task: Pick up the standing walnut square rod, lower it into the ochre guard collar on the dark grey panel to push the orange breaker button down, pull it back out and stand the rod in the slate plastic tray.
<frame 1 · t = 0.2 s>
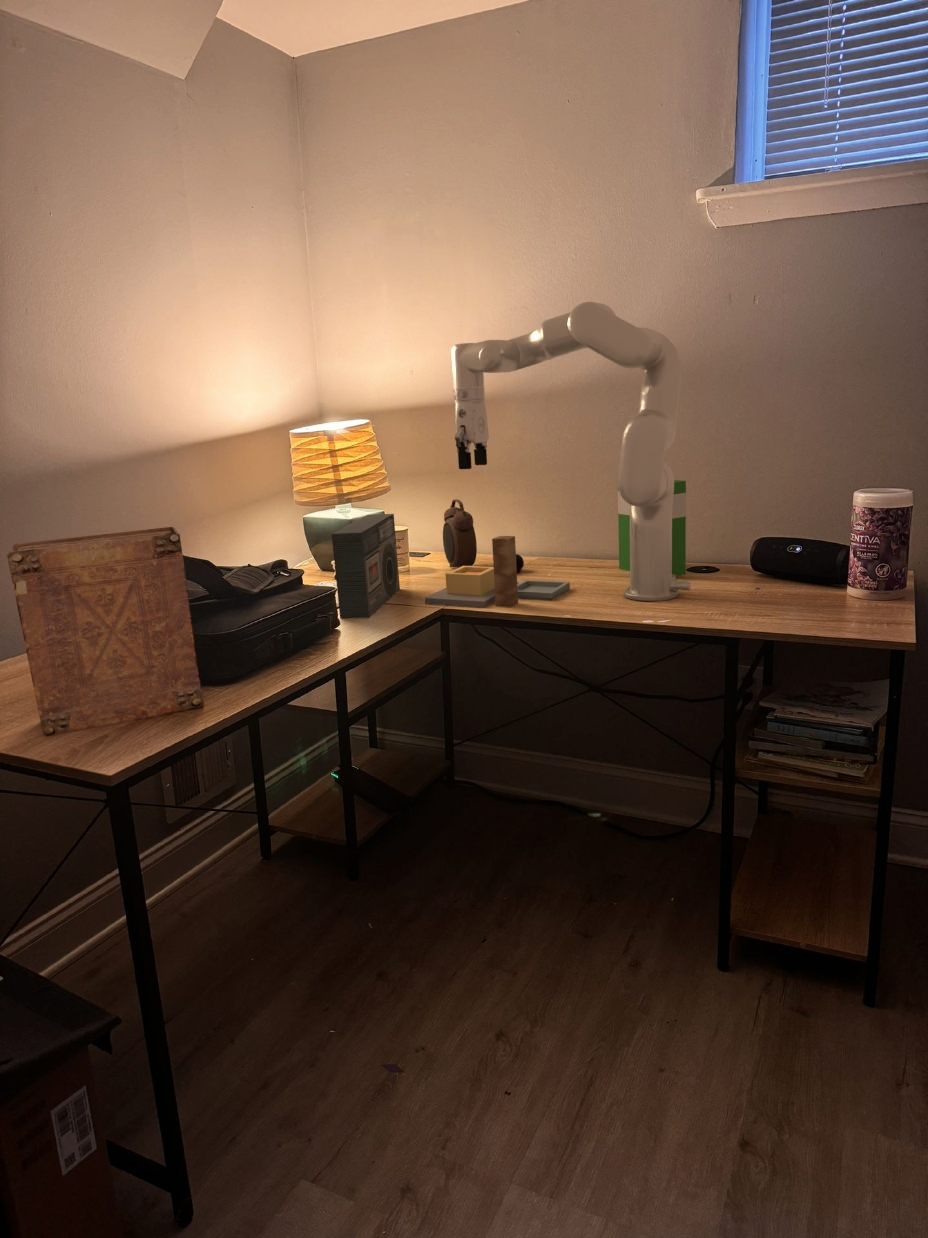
hand: (473, 466, 215), 31 cm above the table, tool pointing down, fingers open, 9 cm apart
tray: (538, 593, 212), on the table
hardback book: (651, 572, 228), on the table
microphone: (496, 578, 234), on the table
cassette player: (372, 604, 213), on the table
rod: (506, 604, 203), on the table
alarm clock: (460, 570, 245), on the table
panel: (472, 596, 213), on the table
button: (471, 580, 212), point 4 cm above the table, slide at 0.0 cm
book: (125, 714, 146), on the table
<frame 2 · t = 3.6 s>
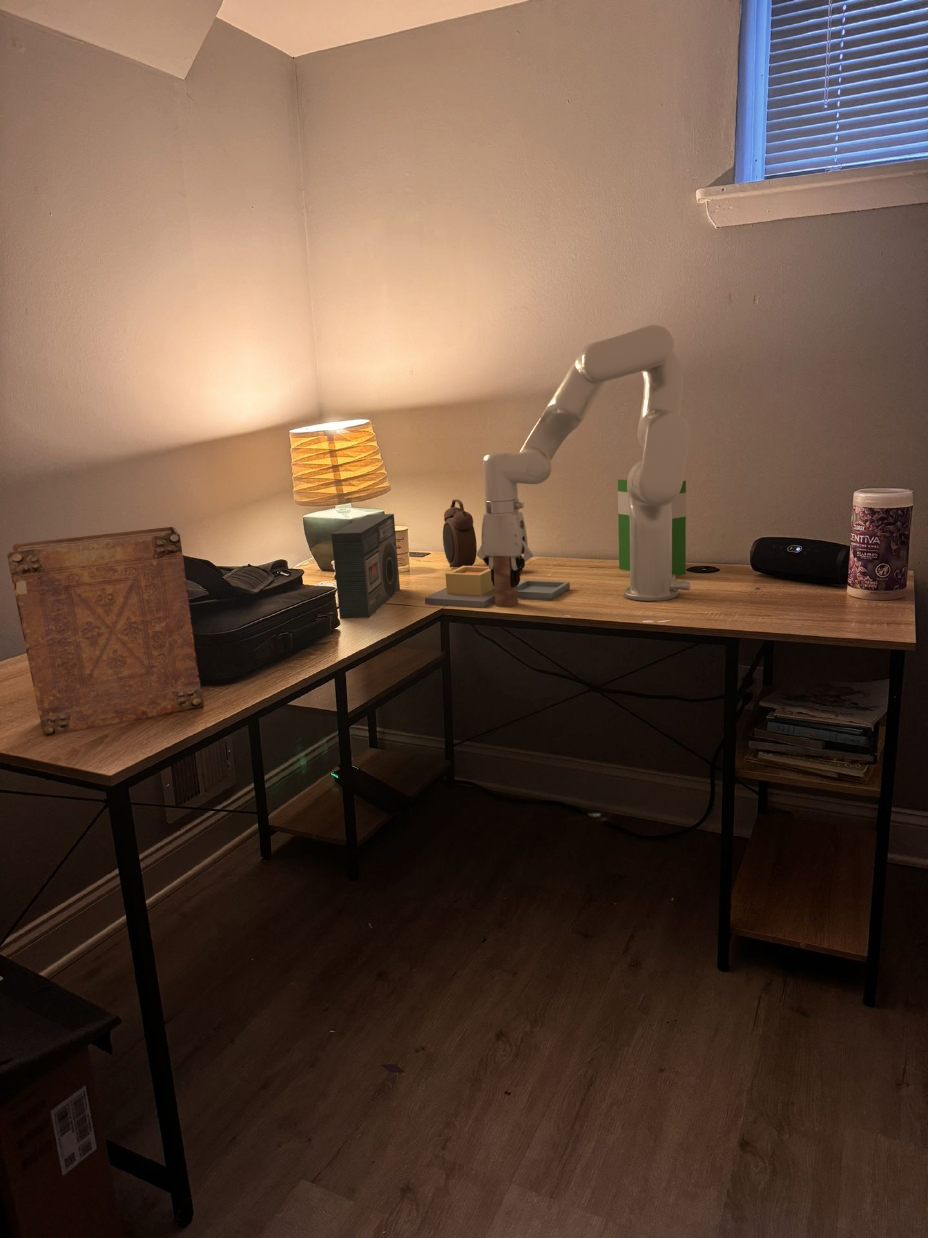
hand: (505, 584, 201), 5 cm above the table, tool pointing down, fingers closed on rod, 4 cm apart
rod: (506, 604, 203), on the table, touching gripper
everything else where it was.
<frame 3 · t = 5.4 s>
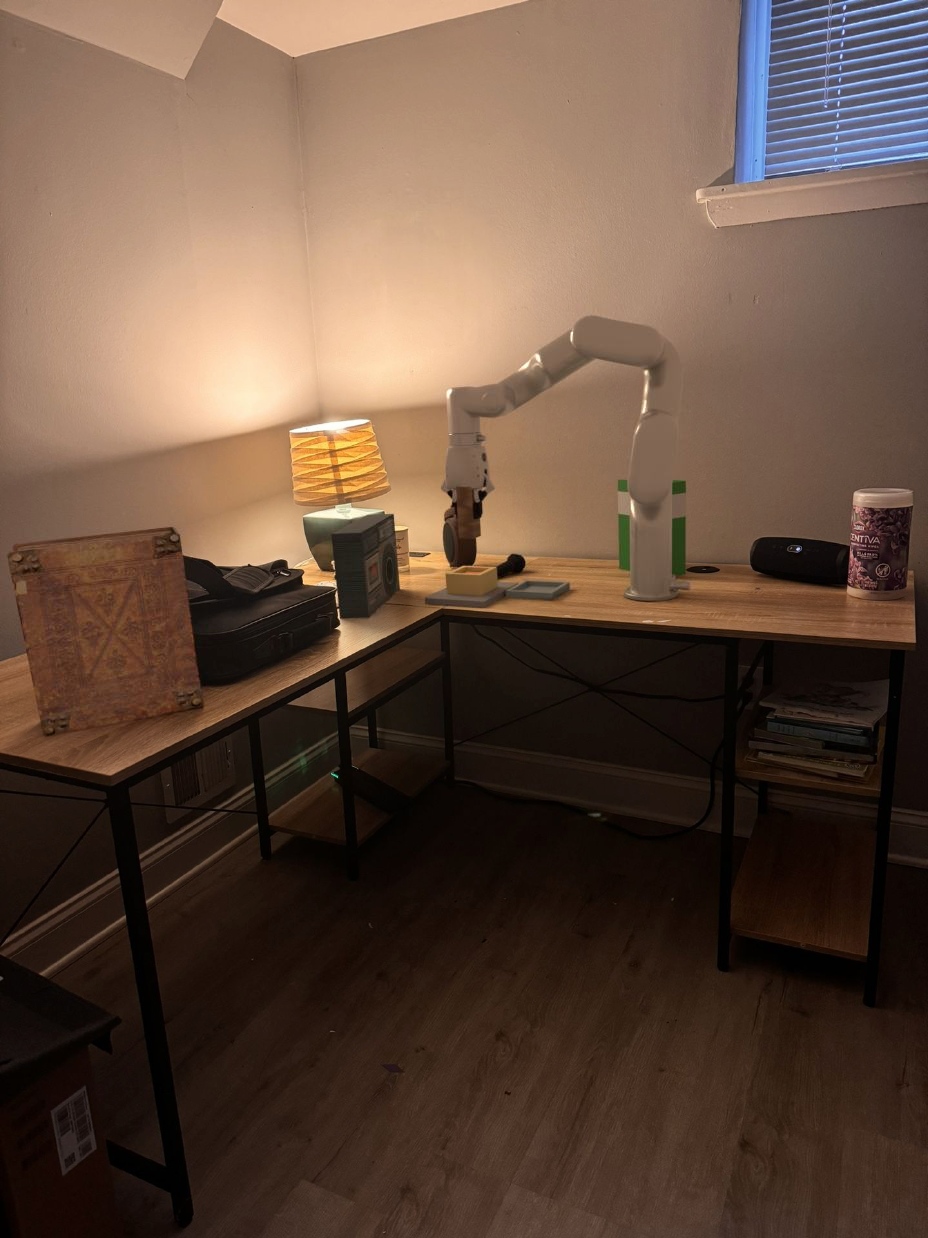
hand: (469, 517, 208), 20 cm above the table, tool pointing down, fingers closed on rod, 4 cm apart
rod: (470, 537, 209), point 15 cm above the table, touching gripper
everything else where it was.
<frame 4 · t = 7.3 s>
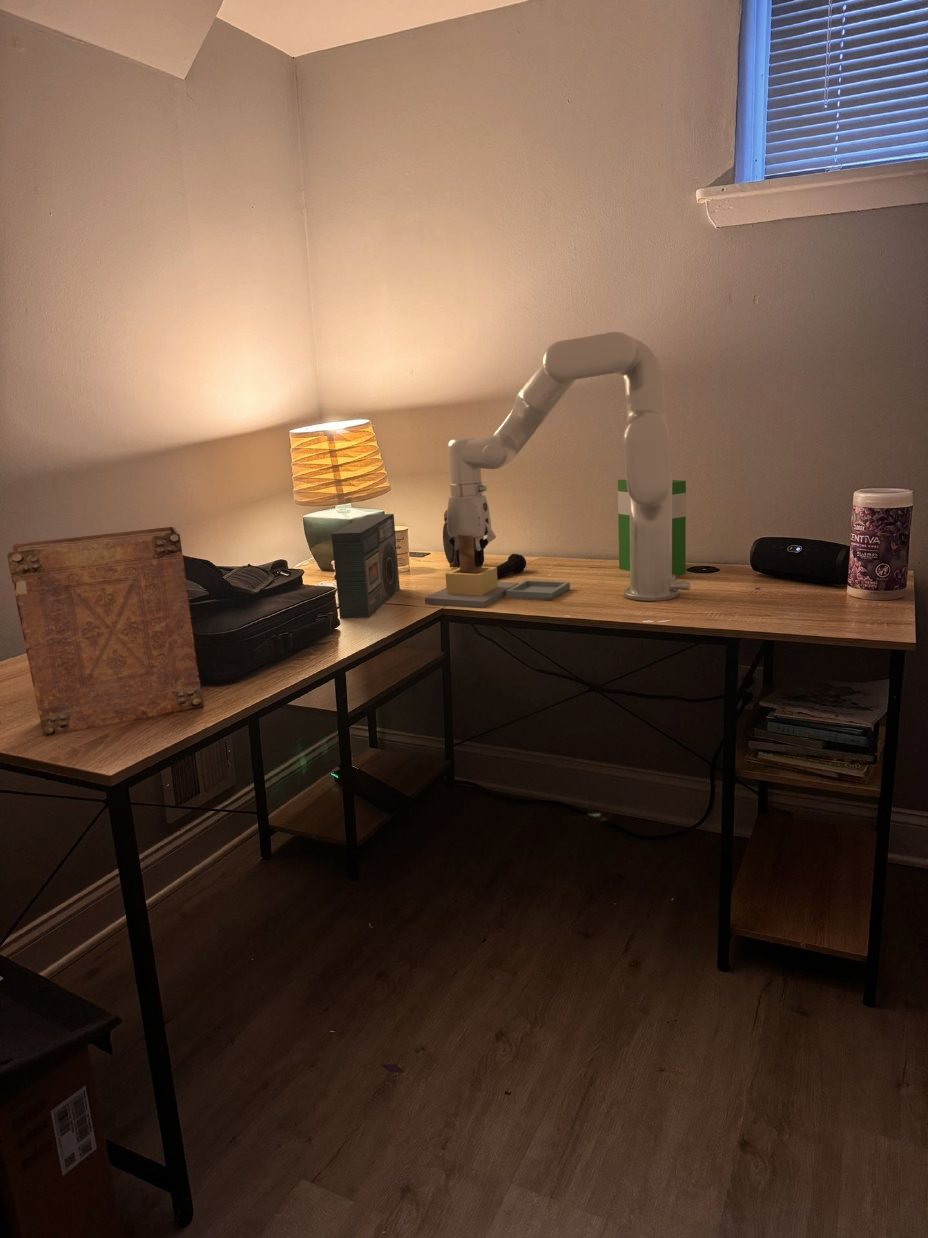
hand: (470, 564, 211), 8 cm above the table, tool pointing down, fingers closed on rod, 4 cm apart
rod: (471, 583, 212), point 3 cm above the table, touching button, gripper
button: (472, 589, 213), point 2 cm above the table, slide at 2.4 cm, touching rod
everything else where it was.
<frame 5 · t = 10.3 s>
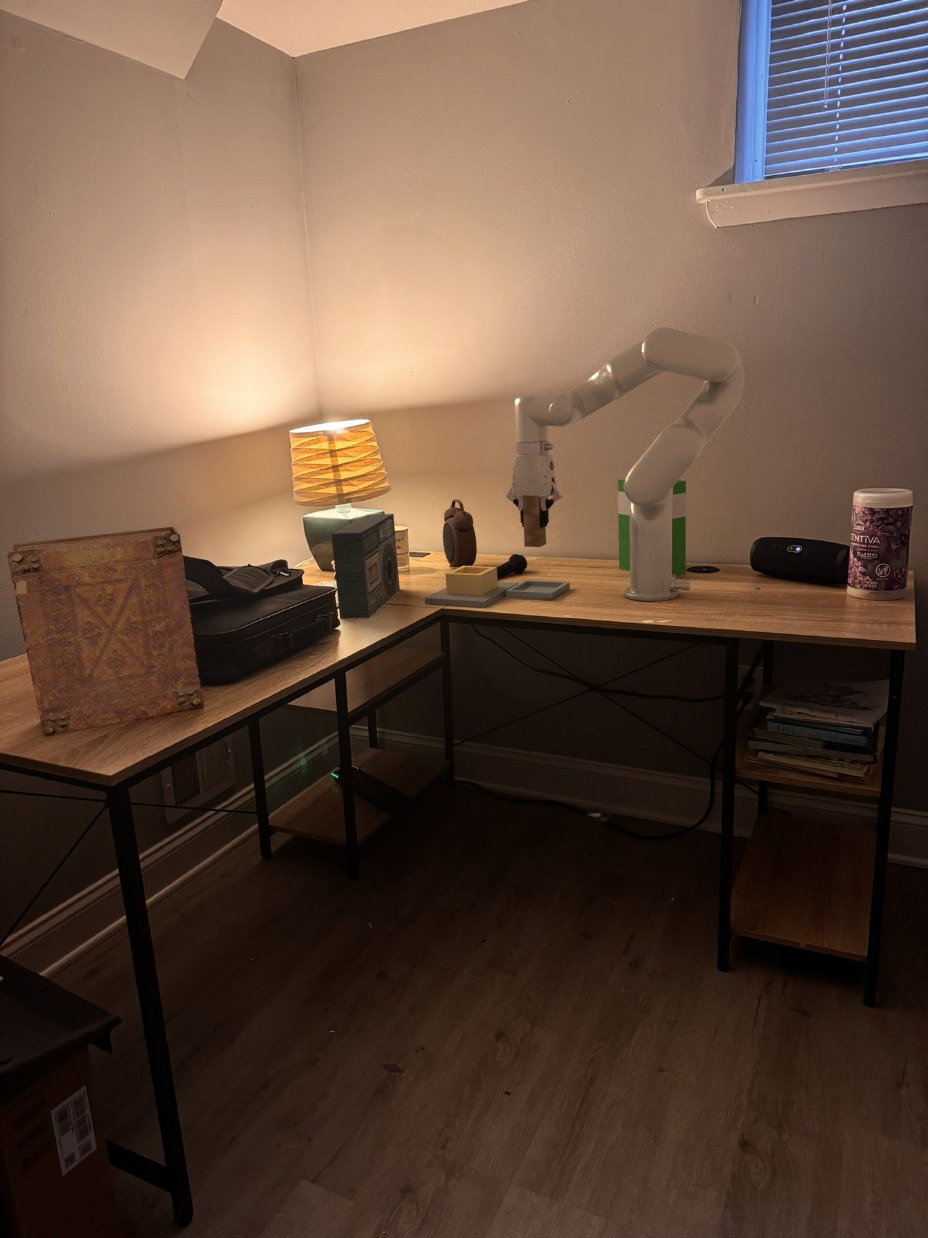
hand: (534, 525, 207), 17 cm above the table, tool pointing down, fingers closed on rod, 4 cm apart
rod: (535, 545, 209), point 12 cm above the table, touching gripper
button: (472, 589, 213), point 2 cm above the table, slide at 2.4 cm
when the fingers open (6 cm above the table, at t = 12.9 s): rod stays where it is, resting on tray.
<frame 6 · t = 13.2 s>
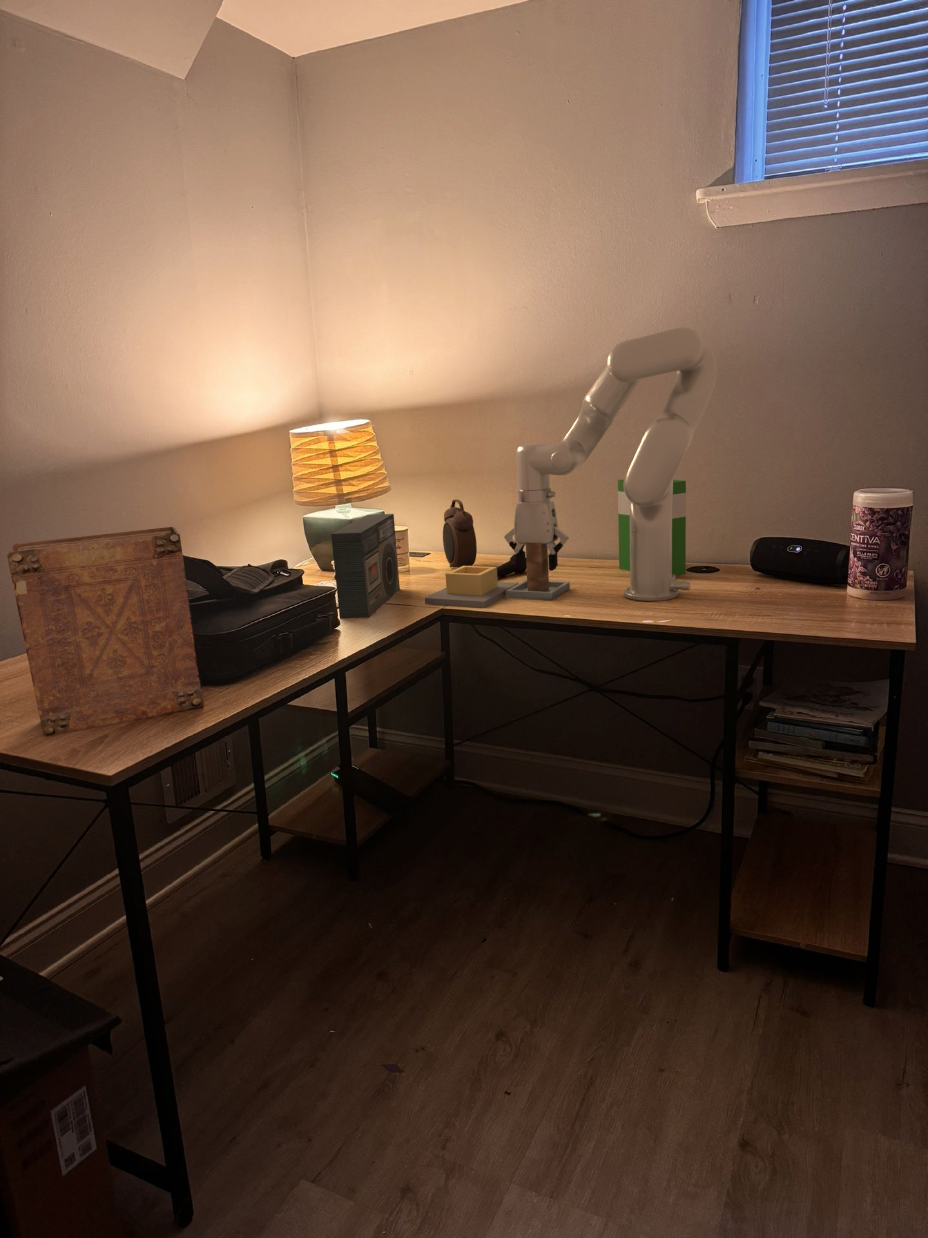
hand: (537, 568, 210), 6 cm above the table, tool pointing down, fingers open, 7 cm apart
rod: (538, 591, 211), point 1 cm above the table, touching tray
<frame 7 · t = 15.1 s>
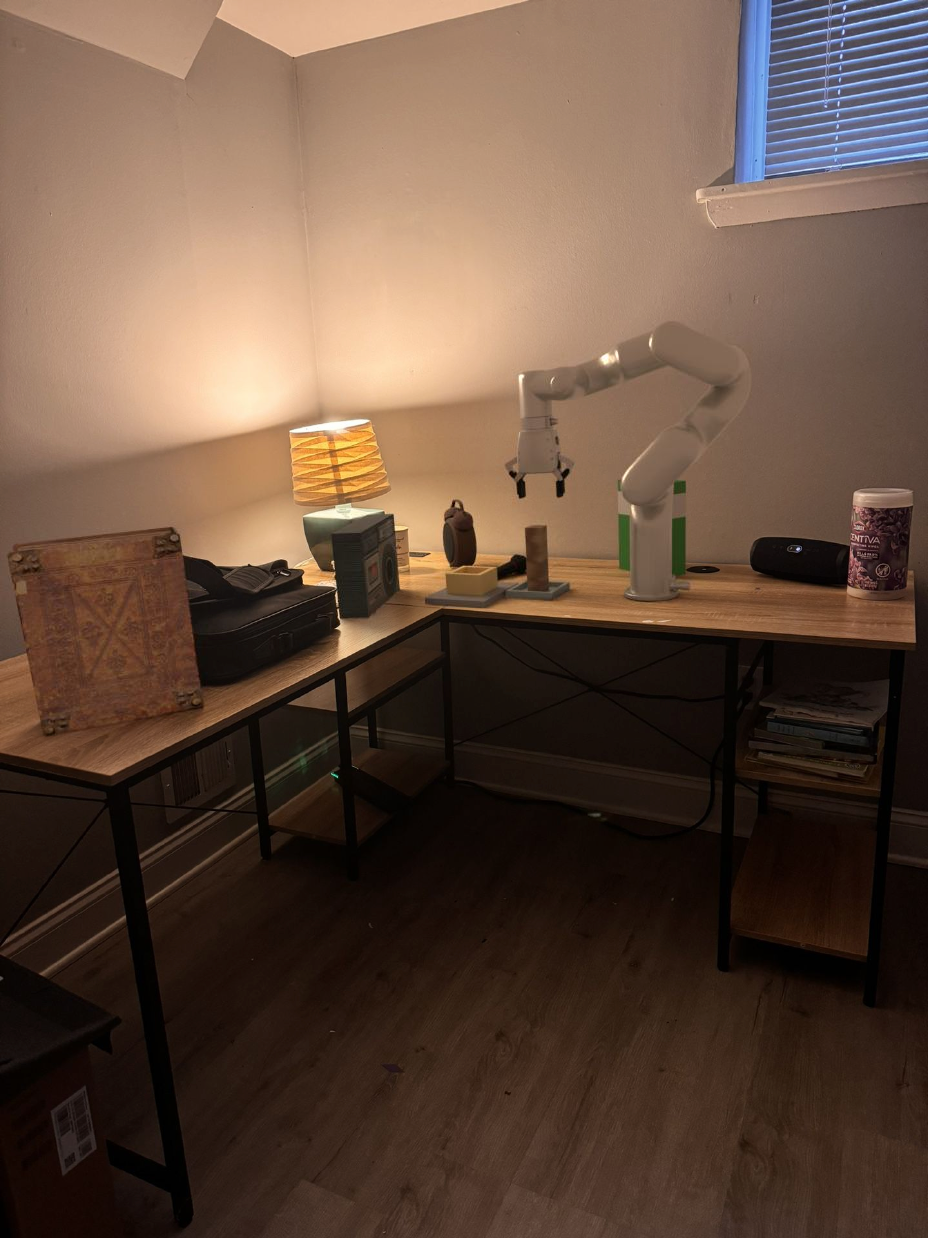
hand: (541, 497, 207), 23 cm above the table, tool pointing down, fingers open, 9 cm apart
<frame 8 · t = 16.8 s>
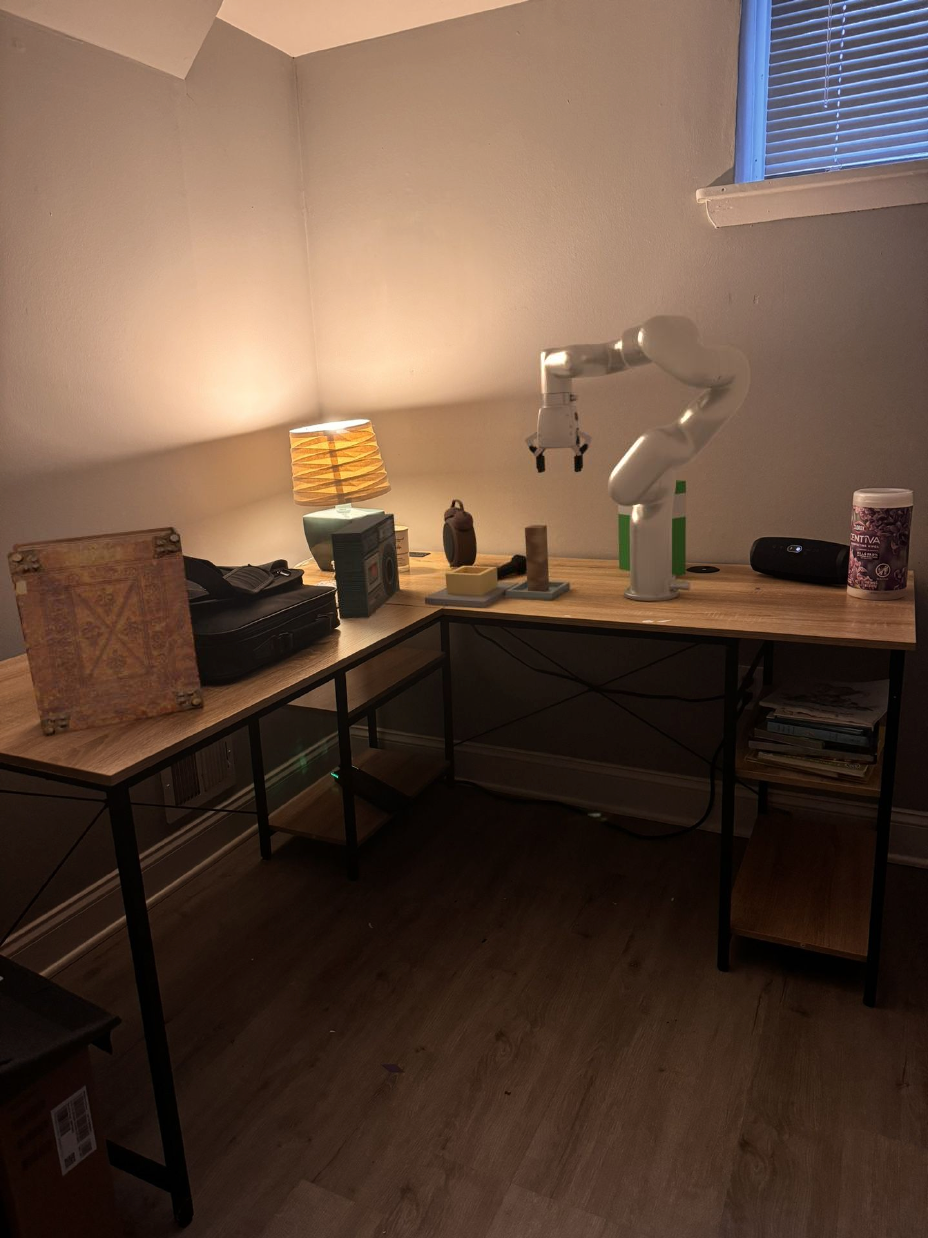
hand: (559, 471, 214), 28 cm above the table, tool pointing down, fingers open, 9 cm apart
at the end: button slide at 2.4 cm; rod inside the target area on the tray (0.1 cm from its centre), point 0.6 cm above the tray's base; the gripper is holding nothing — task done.
